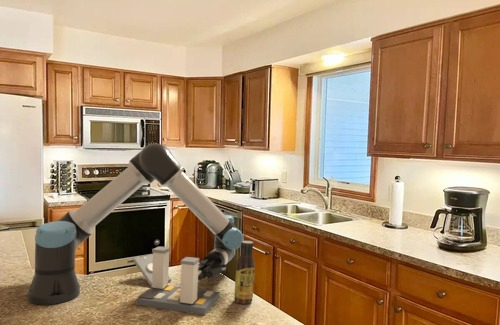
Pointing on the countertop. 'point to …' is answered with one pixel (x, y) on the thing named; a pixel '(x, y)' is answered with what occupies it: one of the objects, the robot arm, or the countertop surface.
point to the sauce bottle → (245, 274)
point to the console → (177, 300)
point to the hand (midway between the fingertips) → (192, 280)
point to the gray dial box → (146, 267)
